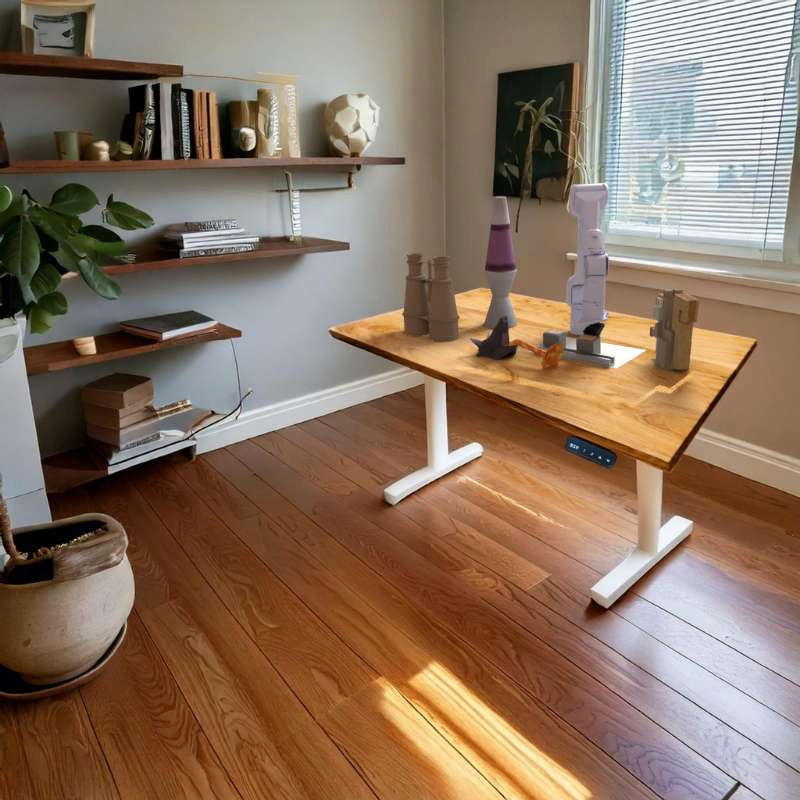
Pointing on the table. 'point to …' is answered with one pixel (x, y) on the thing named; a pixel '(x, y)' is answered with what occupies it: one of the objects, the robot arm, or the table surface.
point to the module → (589, 343)
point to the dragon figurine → (514, 346)
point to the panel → (611, 352)
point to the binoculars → (430, 300)
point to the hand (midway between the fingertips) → (591, 349)
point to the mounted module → (554, 337)
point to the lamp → (500, 265)
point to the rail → (584, 356)
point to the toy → (674, 328)
